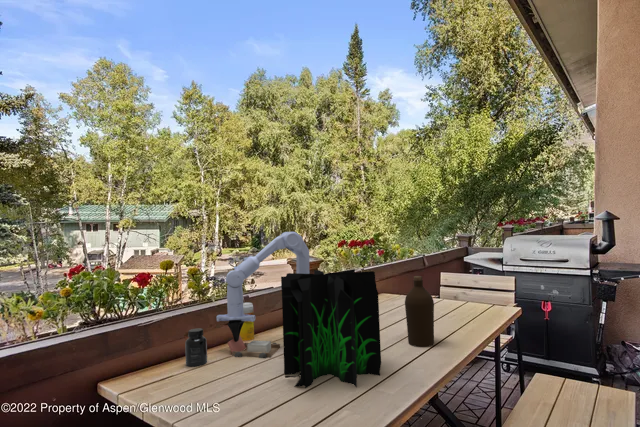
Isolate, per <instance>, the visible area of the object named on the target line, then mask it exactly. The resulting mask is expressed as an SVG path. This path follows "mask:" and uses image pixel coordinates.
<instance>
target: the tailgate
mask: <svg viewBox="0 0 640 427" xmlns="http://www.w3.org/2000/svg"><path fill="white" fill-rule="evenodd" d="M227 345H228V347H229V349H230V352H231V353H232V352H233V351H241V352H242V351H243V350H245V349H246V348H247V347H245V345H244V341H243V340H242V338H241V336H240V335H239V340H238V341H237V342H235V341H234V338H232V339H231V340H229V341H228V342H227Z"/></svg>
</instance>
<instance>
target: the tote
mask: <svg viewBox="0 0 640 427" xmlns="http://www.w3.org/2000/svg"><path fill="white" fill-rule="evenodd" d="M248 343H249V344H248V345H247V347H248V352H267V353H269V352H270V351H271V344H272V341H271V340H251V341H250V342H248ZM247 347H246V348H247Z"/></svg>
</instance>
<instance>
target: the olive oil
mask: <svg viewBox="0 0 640 427" xmlns="http://www.w3.org/2000/svg"><path fill="white" fill-rule="evenodd" d="M423 281H424V280H423V276H421V275H415V276H413V280H412V282H413V286H412V288H411V289H410V291H408V292H407V294H406V296H405V299H404V307H405V308H404V310H405V319H406V328H407V329H406V330H407V343H408V344H409V345H410V346H413V347H418V348H419V347H420V348H428V347H431V346H433V345H434V344H435V328H434V327H435V323H434V322H435V302H434V301H435V300H434V298H433V296H432V294H430V292H429V291H428V290H427V289H426V288H425V287H424V285H423V284H424V282H423Z"/></svg>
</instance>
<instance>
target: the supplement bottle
mask: <svg viewBox="0 0 640 427" xmlns="http://www.w3.org/2000/svg"><path fill="white" fill-rule="evenodd" d="M187 332H188V333H187V337H188V338H187V339H186V340H185V345H184V346H185V366H186V367H187V368H197V367H202V366H205V365H207V363H208V347H207V346H208V345H207V340H208V339H207V338H206V337H205V336H204V329H203V328H201V327H199V328H192V329H189V330H188V331H187Z"/></svg>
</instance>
